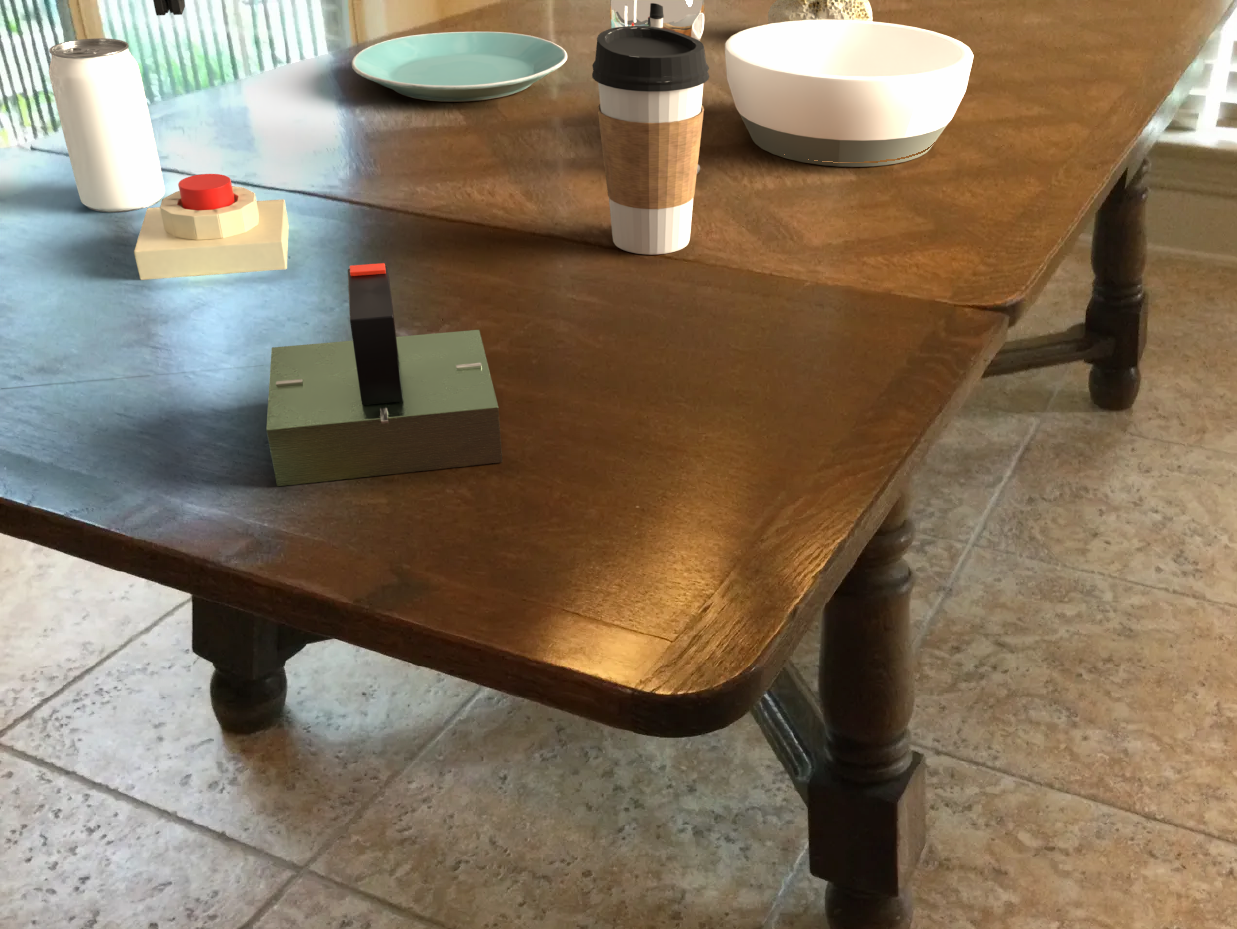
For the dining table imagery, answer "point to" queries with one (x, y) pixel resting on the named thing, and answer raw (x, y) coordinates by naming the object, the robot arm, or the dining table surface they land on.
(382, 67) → the plate
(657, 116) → the coffee cup
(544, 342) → the dining table surface
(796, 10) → the decorative item
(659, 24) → the wineglass
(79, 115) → the can
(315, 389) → the green lever base box
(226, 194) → the release button
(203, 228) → the box
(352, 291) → the black rectangular case
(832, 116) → the bowl
